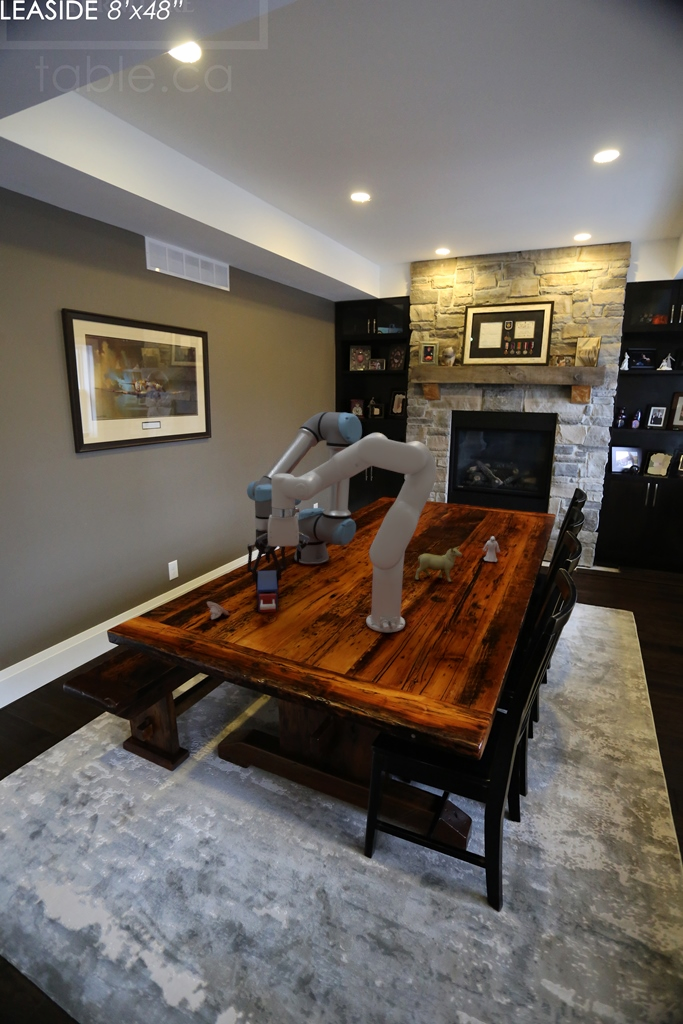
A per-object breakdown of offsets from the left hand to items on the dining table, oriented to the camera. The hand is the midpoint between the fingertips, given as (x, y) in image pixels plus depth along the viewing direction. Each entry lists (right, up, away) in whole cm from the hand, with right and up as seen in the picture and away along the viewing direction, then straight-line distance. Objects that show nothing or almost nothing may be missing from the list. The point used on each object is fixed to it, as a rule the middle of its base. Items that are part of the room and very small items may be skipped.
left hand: (267, 588), depth 183 cm
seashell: (-14, -7, -18) cm, 24 cm away
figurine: (+94, +6, +42) cm, 103 cm away
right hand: (+8, +12, -17) cm, 22 cm away
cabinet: (+1, -4, -5) cm, 6 cm away
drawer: (+2, -4, -11) cm, 12 cm away
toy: (+66, +1, +17) cm, 68 cm away
